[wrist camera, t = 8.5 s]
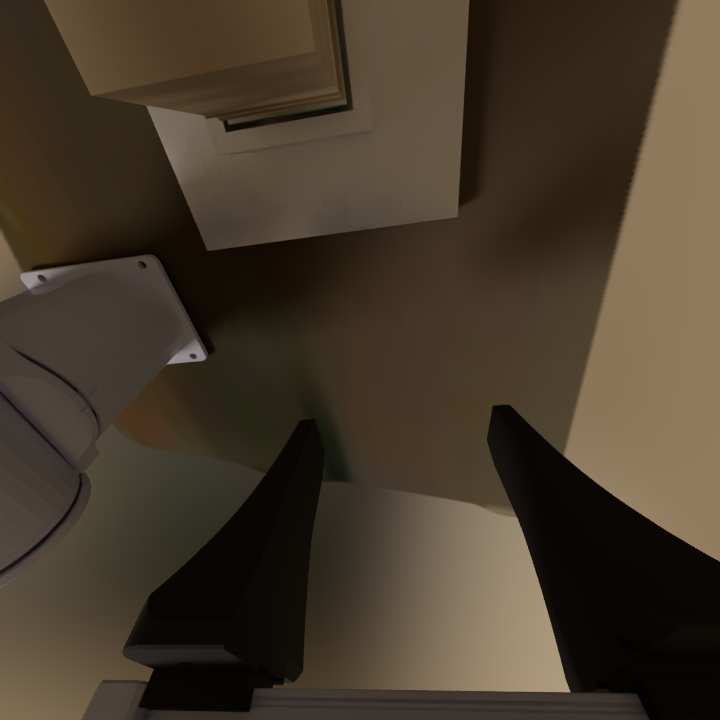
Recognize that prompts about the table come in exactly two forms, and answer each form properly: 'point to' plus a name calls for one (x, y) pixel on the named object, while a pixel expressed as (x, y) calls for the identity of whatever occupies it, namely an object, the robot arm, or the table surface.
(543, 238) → the table surface
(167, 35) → the post
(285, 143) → the jack base
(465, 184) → the table surface
